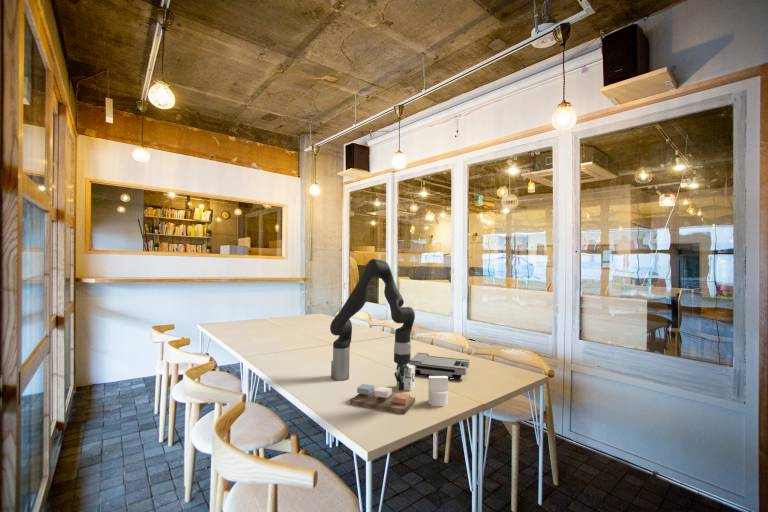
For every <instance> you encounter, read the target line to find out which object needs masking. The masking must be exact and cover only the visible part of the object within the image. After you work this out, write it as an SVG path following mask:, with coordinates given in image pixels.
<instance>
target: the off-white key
mask: <svg viewBox="0 0 768 512" xmlns="http://www.w3.org/2000/svg"><path fill="white" fill-rule="evenodd" d="M374 391H375V396H378V397H384V398H388V397H389V396H390V395H391V394H393V388H392V387H391V388H390V387H384V386H379V387H377V388H376V389H374Z"/></svg>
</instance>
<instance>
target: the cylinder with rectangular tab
mask: <svg viewBox="0 0 768 512" xmlns="http://www.w3.org/2000/svg"><path fill="white" fill-rule="evenodd" d="M427 389H428V392H427V394H428V396H427V397H428V402H427V403H428V404H429V405H430V404H431V405H430V406H432V405H434V406H433V407H436V406H444V405H446V404H447V403H448V404H449V379H448V377H447V376H429V377H428V388H427ZM444 407H445V406H444Z"/></svg>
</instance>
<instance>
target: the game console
mask: <svg viewBox="0 0 768 512" xmlns="http://www.w3.org/2000/svg"><path fill="white" fill-rule="evenodd" d="M408 365H413V366H415V374H417V375H416V376H420V375H426V376H425V377H428V376H447V377H448V378H454V379H456V378H457V379H458V378H459V379H461V378H462V376H466V374H467V369H468V368H470V359H463V358H452V357H447V356H446V357H444V356H435V355H434V356H433V355H429V353H424V352H416V354H414V356H412V358H410V363H408ZM457 379H456V380H457Z"/></svg>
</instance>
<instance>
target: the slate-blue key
mask: <svg viewBox="0 0 768 512" xmlns="http://www.w3.org/2000/svg"><path fill="white" fill-rule="evenodd" d="M373 391H375V385H373V384H366V383H362V384H360V385H359V386H358V387H357V388H356V393H357V394H359V393H360V394H366V395H369V394H371V393H372V392H373Z"/></svg>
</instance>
